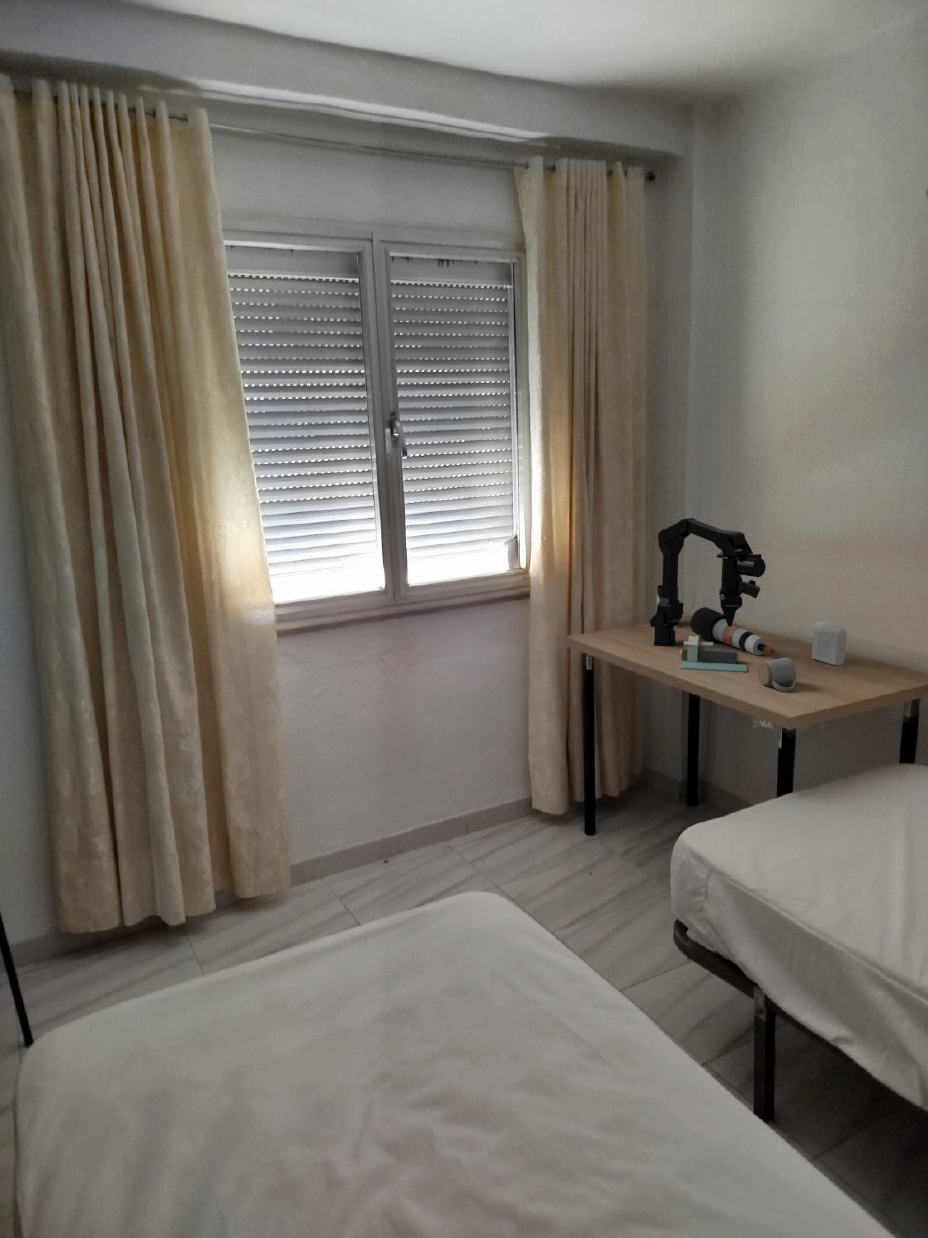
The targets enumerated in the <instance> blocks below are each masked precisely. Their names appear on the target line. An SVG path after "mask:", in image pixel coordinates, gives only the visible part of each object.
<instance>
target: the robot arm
mask: <svg viewBox="0 0 928 1238" xmlns="http://www.w3.org/2000/svg"><path fill="white" fill-rule="evenodd" d="M691 534H692V535H694V536H696V537H700V538H701V539H704V540H708V541H709V542H712V543H713V544H714V545H715V547H716V548H717V549H719V550H721V551H720V552H719V553H718V554H717V555H715V557H716V558H718V559H721V576H720V578H721V579H720V580H721V581H720V582H721V583H720V588H719V591H718V592H719V593H718V594H719V600H720V601H719V602H720V603H719V604H720V608H721V611H722V614H724V616H725V619H726V622H727V625H728V626H732V624H733V623H734V619H735V616H736V612H737V610H738V609H740V608H742V606H743V597H742V595H743V594H744V595H747V596H750V597H751V598H753V599H757V598H758V596H759V593H760V592H761V586H759V585H757V583H756V581H755V580H753V579H749V580H748V581H745V580H743V577H742V576H747V577H752V578H753V577H755V578H760V577H762V576H763V575H764V574H765V571H766V568H767V565H766V562H765V560H764V559H763V558H762V554H761V553H754V552H753V550H752V548H751V546H750V544H749V543H748V540H747V538H746V535H745V533H743V532H741V531H737V530H735V531H734V530H729V529H728V530H726V529H721V528H718V527H715V526H712V525H710V524H708V523H704V522H702V521H700V520H697V518H694V517H687V518H682V519H680V520H679V521H677V522H676V523H674V524H672V525H670V526H668V527H667V528H663V529H661V530H660V531H659V532H658V534H657V543H658V548H659V550H660V552H661V553H662V581H661V582H662V584H661V585H662V598H661V600H660V602H659V603H658V605H657V604H656V607H657V611H656V612H655V614H654V615H653V617H652V618H651V619H649V625H650V627H652V628H654V638H653V639H654V640H653V641H654V642H653V645H654V646H664V647H665V646H668V647H671V646H672V647H674V645H675V644H676V631H677V630H676V629H675V628H674V626H677V625H679V624H680V621H681V620H682V618H683V617H682V615H684V614H685V613H684V602H680V601H681V600H679V597H678V598H677V586H678V587H679V585H678V582H679V581H678V580H679V579H678V578H679V577H678V576H679V555H680V553H681V551H682V550H683V548H684V544H685V539H686V538H688V537H689V536H690V535H691Z"/></svg>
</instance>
